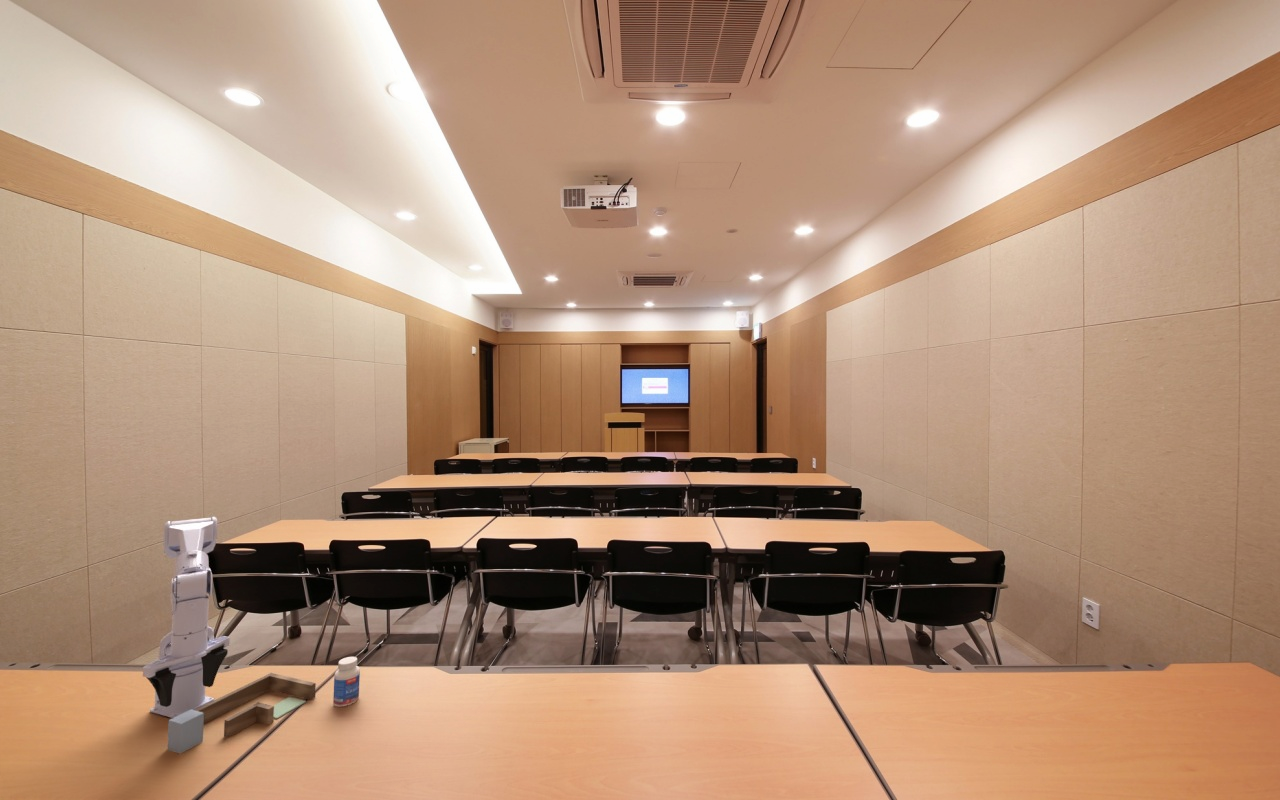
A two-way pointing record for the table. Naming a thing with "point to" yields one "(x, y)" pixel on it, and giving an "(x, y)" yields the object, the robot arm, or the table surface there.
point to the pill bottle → (346, 682)
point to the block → (185, 731)
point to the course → (258, 710)
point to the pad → (286, 706)
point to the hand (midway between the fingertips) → (187, 695)
